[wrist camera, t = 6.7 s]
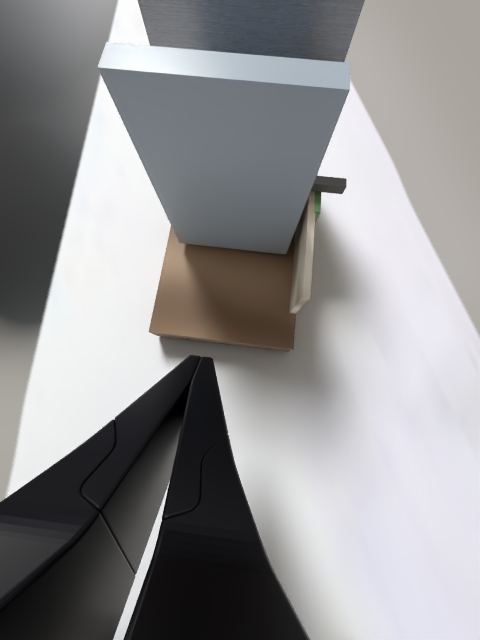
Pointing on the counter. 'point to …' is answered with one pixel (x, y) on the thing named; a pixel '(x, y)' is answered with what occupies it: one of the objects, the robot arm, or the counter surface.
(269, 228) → the pale blue shelf board
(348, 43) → the brushed steel plate
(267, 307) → the gauge frame
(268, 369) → the counter surface
